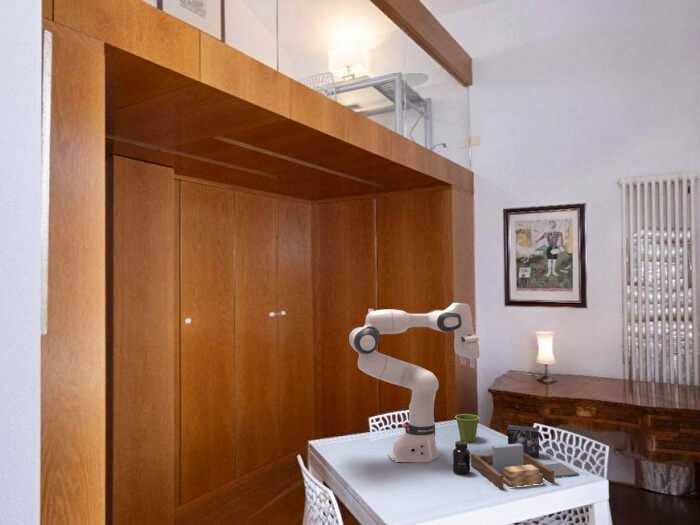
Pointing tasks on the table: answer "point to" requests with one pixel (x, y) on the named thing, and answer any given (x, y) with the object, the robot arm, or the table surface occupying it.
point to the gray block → (507, 456)
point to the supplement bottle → (461, 458)
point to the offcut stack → (522, 475)
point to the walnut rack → (496, 478)
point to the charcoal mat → (561, 470)
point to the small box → (525, 439)
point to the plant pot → (467, 426)
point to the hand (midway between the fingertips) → (468, 366)
